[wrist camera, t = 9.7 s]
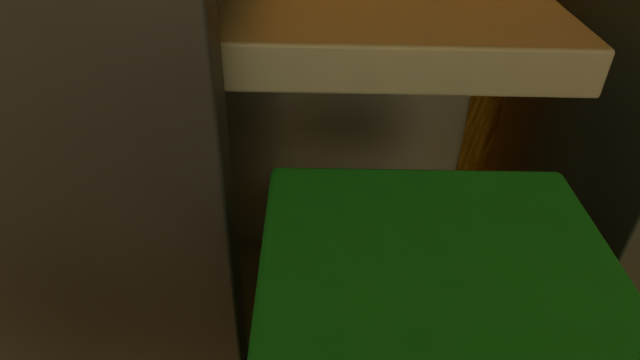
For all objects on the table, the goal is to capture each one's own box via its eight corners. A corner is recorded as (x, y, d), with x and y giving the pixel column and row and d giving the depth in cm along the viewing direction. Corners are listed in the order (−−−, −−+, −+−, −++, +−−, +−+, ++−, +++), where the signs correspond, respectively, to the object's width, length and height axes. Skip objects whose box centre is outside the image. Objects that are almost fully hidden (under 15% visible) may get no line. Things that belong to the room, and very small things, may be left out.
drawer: (754, -81, 13) (1111, 15, 7) (602, 255, 20) (725, 450, 14) (86, -97, 13) (-110, -10, 7) (158, 250, 20) (89, 446, 14)
